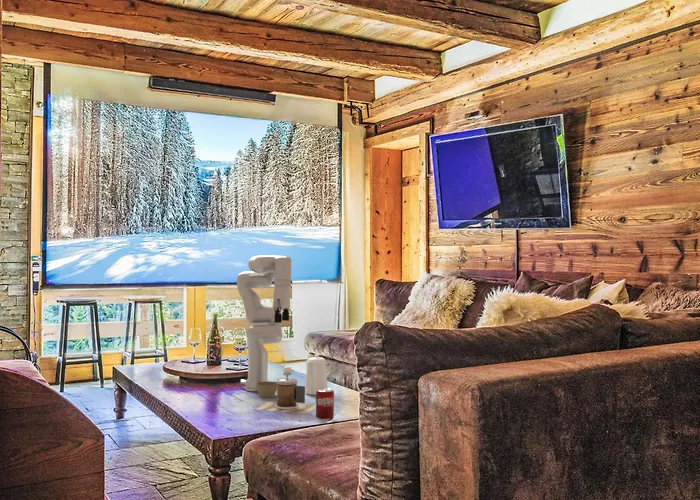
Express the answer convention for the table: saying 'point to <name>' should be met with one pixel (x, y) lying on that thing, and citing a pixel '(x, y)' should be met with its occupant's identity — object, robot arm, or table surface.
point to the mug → (289, 396)
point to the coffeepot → (315, 375)
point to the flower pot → (266, 389)
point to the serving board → (301, 409)
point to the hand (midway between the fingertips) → (281, 321)
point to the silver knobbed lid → (287, 380)
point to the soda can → (325, 404)
